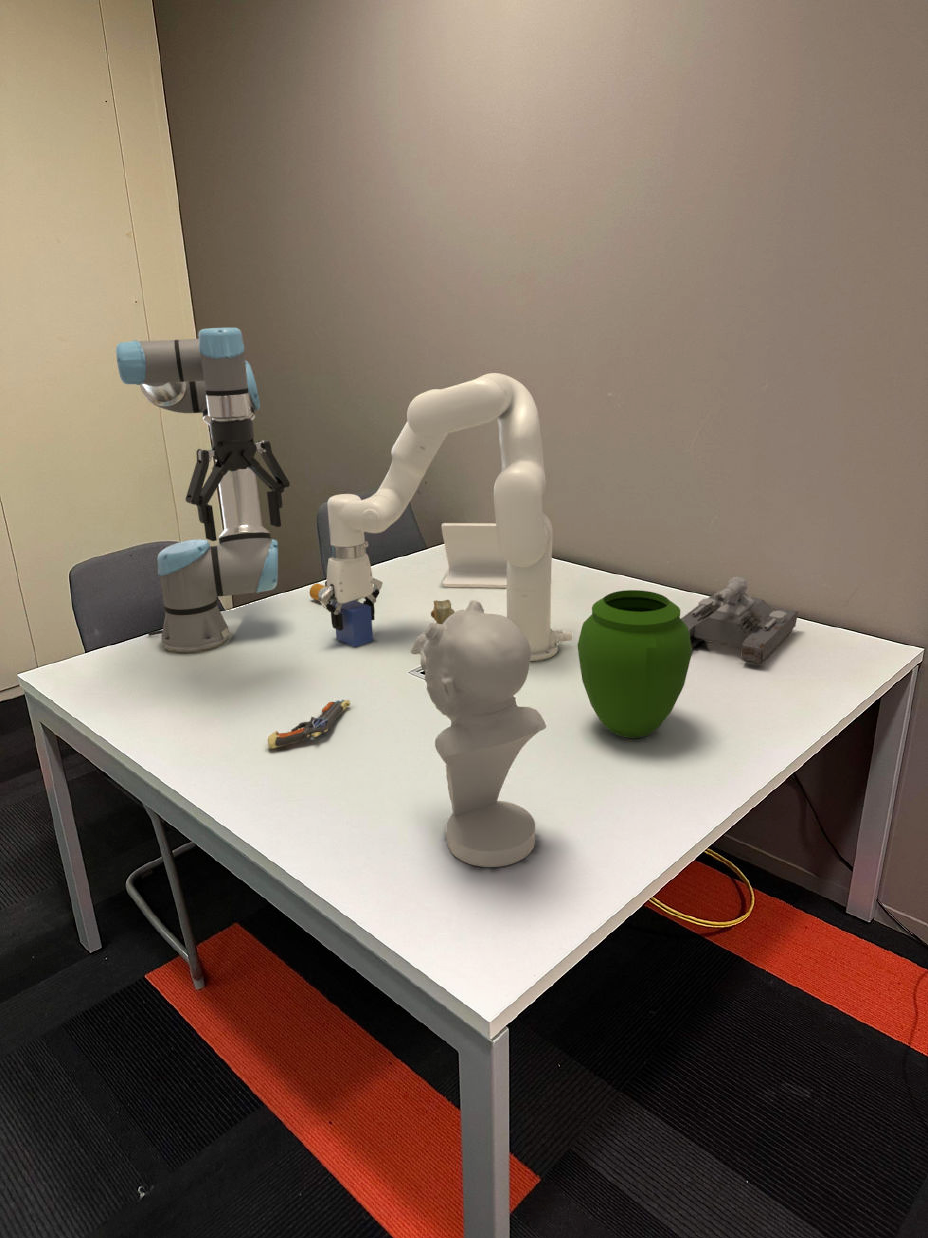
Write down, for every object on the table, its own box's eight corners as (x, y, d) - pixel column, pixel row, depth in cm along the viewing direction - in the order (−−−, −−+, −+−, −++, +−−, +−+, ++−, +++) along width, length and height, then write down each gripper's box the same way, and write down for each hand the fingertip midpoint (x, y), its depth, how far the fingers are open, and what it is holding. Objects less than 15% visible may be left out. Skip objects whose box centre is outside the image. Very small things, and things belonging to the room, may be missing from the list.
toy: (710, 615, 205) (715, 555, 200) (796, 631, 194) (803, 568, 189) (667, 650, 186) (671, 585, 181) (759, 670, 175) (767, 601, 170)
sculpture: (458, 662, 183) (456, 596, 178) (460, 676, 176) (457, 608, 171) (431, 663, 183) (428, 597, 177) (431, 677, 176) (428, 609, 171)
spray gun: (334, 586, 236) (381, 594, 231) (299, 601, 222) (348, 610, 216) (334, 571, 235) (381, 579, 229) (298, 586, 221) (348, 594, 215)
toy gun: (262, 738, 148) (316, 736, 146) (302, 698, 166) (350, 695, 164) (265, 752, 149) (319, 750, 147) (304, 710, 167) (353, 708, 165)
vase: (701, 718, 156) (710, 592, 147) (663, 766, 141) (671, 629, 132) (602, 695, 166) (606, 576, 157) (557, 738, 151) (558, 608, 142)
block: (354, 633, 201) (352, 599, 198) (373, 641, 196) (370, 606, 193) (336, 639, 198) (333, 604, 195) (354, 647, 193) (352, 612, 190)
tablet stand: (534, 588, 228) (534, 526, 222) (442, 586, 231) (439, 525, 225) (538, 568, 245) (538, 509, 239) (451, 566, 248) (449, 509, 242)
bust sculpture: (481, 772, 140) (476, 569, 128) (565, 848, 120) (569, 617, 108) (392, 800, 134) (378, 588, 121) (465, 886, 114) (457, 642, 101)
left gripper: (279, 409, 164) (290, 517, 172) (155, 424, 149) (173, 542, 156) (300, 412, 159) (311, 523, 167) (174, 428, 143) (192, 549, 151)
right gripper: (369, 539, 198) (374, 610, 204) (305, 555, 187) (312, 629, 193) (389, 545, 192) (393, 618, 199) (325, 562, 182) (331, 638, 188)
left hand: (244, 532), depth 161 cm, fingers open, 13 cm apart
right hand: (353, 623), depth 196 cm, fingers open, 8 cm apart
